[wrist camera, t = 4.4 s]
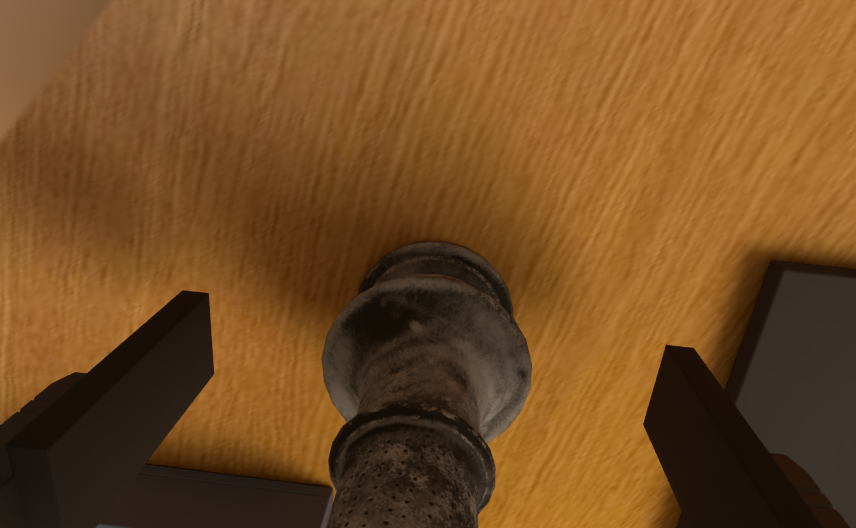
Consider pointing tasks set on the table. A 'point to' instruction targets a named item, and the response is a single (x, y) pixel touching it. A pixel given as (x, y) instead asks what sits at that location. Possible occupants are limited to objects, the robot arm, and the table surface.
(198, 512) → the tray
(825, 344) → the mat
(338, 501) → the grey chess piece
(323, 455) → the table surface
